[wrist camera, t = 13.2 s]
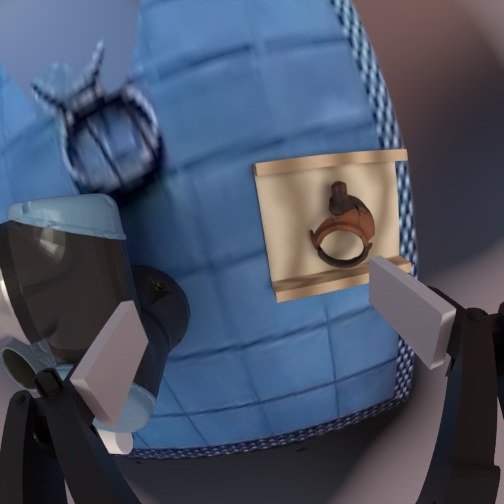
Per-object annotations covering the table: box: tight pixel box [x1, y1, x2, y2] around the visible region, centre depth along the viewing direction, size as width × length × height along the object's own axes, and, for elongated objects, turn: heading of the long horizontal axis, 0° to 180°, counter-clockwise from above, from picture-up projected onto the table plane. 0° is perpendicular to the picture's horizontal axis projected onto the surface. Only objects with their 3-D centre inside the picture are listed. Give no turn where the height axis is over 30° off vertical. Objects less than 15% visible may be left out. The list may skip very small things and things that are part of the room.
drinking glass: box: [0, 338, 56, 392], centre depth 38 cm, size 10×10×12 cm
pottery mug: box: [310, 181, 375, 268], centre depth 37 cm, size 12×10×8 cm
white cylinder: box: [96, 428, 133, 454], centre depth 48 cm, size 12×10×8 cm
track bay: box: [252, 149, 411, 303], centre depth 39 cm, size 22×19×5 cm
